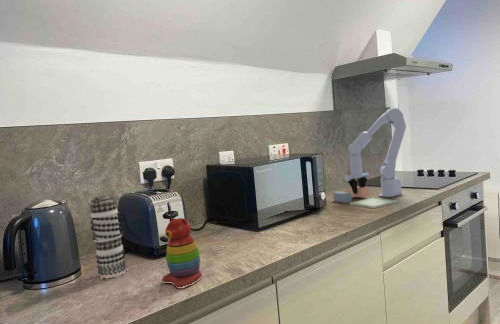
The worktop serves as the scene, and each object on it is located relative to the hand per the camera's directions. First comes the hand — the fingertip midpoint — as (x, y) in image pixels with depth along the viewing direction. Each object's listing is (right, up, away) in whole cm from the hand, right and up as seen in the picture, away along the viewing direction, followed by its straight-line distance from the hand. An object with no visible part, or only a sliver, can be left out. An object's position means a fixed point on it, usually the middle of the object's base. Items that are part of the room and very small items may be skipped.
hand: (358, 192), depth 194 cm
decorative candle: (-100, -20, -75) cm, 126 cm away
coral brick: (0, -2, 0) cm, 2 cm away
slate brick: (-9, -4, -3) cm, 10 cm away
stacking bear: (-75, -18, -88) cm, 117 cm away
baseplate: (+2, -4, -17) cm, 17 cm away
